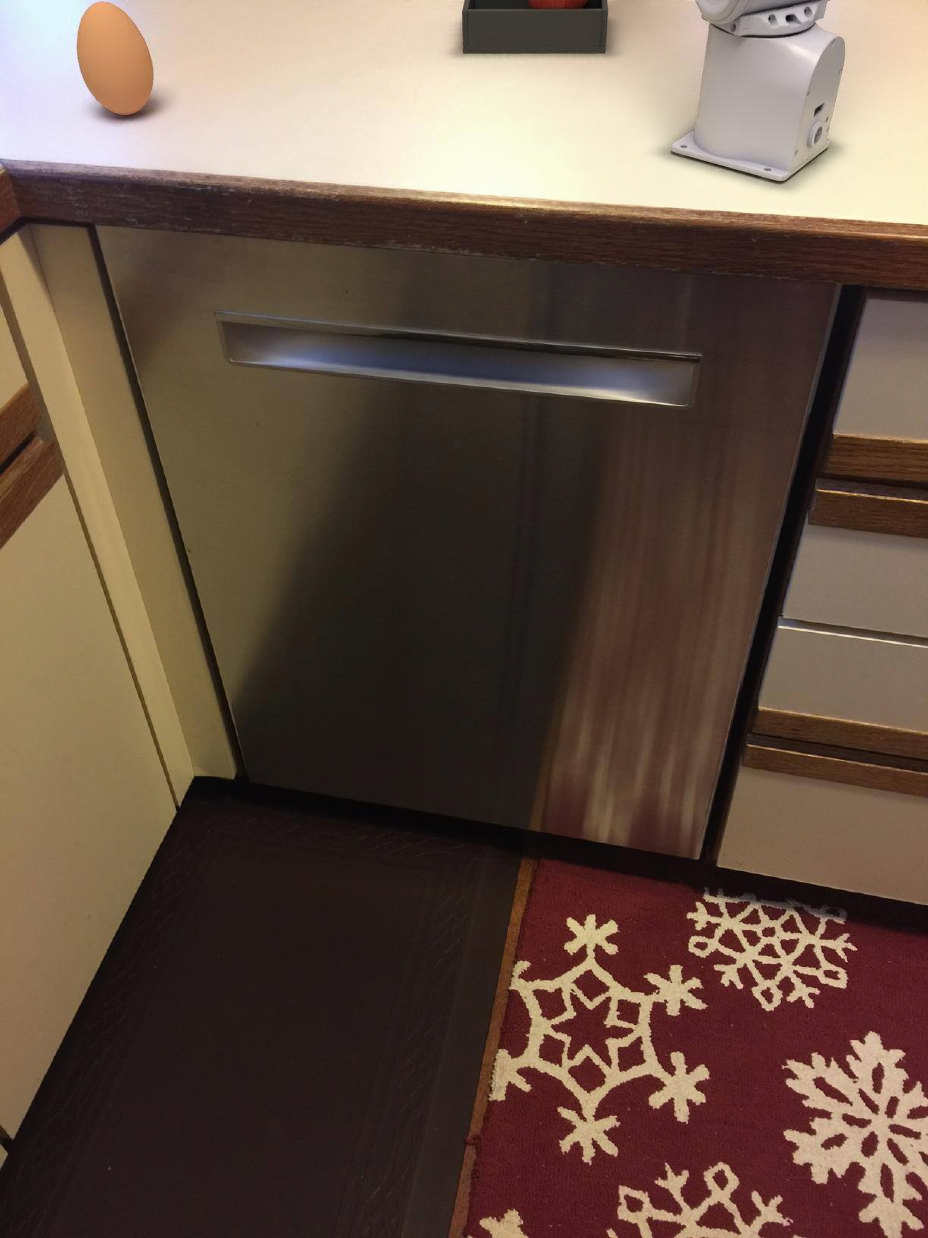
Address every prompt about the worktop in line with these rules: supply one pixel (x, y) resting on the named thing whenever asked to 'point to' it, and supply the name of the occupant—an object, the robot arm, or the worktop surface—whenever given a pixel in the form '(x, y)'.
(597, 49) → the bin
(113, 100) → the egg
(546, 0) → the onion
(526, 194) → the worktop surface
